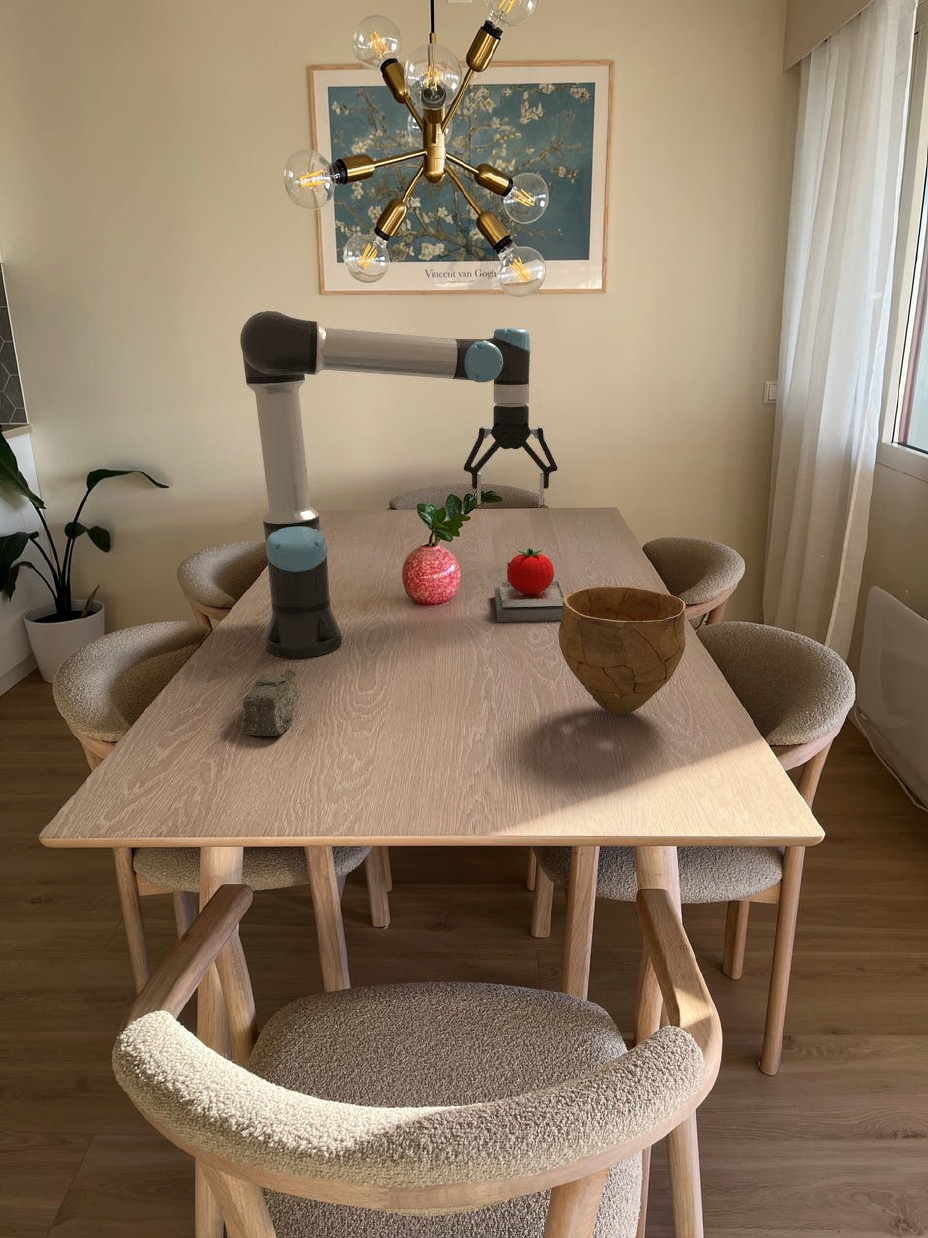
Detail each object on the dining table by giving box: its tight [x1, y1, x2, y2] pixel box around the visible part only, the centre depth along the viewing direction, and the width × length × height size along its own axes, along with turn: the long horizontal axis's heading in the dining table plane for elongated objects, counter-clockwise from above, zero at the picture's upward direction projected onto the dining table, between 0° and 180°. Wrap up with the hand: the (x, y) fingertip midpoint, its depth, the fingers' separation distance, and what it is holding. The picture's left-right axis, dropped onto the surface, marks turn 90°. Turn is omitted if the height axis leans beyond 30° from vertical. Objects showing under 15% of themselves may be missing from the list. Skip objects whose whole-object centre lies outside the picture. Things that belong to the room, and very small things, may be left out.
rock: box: [240, 668, 299, 737], centre depth 155 cm, size 17×7×10 cm
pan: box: [498, 579, 567, 607], centre depth 208 cm, size 14×14×2 cm
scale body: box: [493, 558, 567, 623], centre depth 209 cm, size 18×16×9 cm
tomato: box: [506, 547, 555, 595], centre depth 206 cm, size 10×10×10 cm
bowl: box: [557, 586, 687, 717], centre depth 153 cm, size 21×20×20 cm
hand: (510, 503), depth 205 cm, fingers open, 13 cm apart
